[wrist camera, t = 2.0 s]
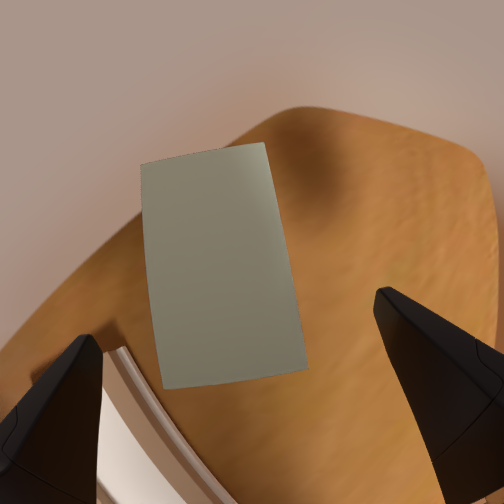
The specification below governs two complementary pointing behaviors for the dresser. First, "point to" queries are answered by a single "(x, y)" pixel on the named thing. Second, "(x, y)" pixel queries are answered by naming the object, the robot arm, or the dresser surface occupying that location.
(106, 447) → the track
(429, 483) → the dresser surface
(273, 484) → the dresser surface
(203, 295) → the door panel
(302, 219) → the dresser surface
